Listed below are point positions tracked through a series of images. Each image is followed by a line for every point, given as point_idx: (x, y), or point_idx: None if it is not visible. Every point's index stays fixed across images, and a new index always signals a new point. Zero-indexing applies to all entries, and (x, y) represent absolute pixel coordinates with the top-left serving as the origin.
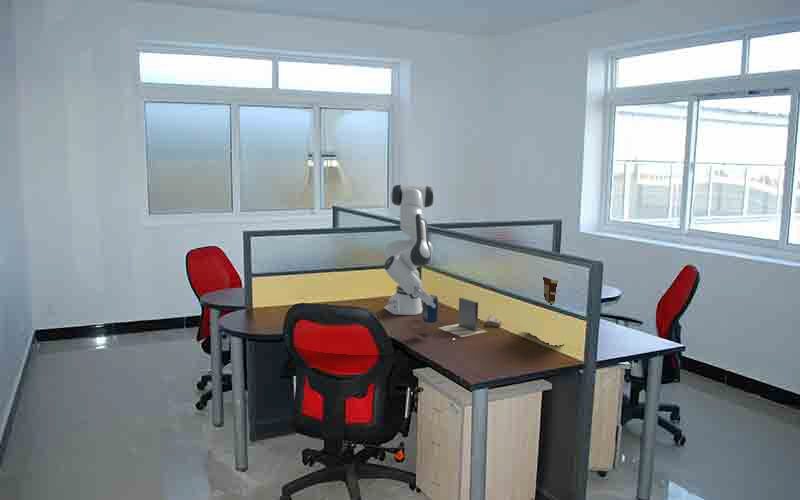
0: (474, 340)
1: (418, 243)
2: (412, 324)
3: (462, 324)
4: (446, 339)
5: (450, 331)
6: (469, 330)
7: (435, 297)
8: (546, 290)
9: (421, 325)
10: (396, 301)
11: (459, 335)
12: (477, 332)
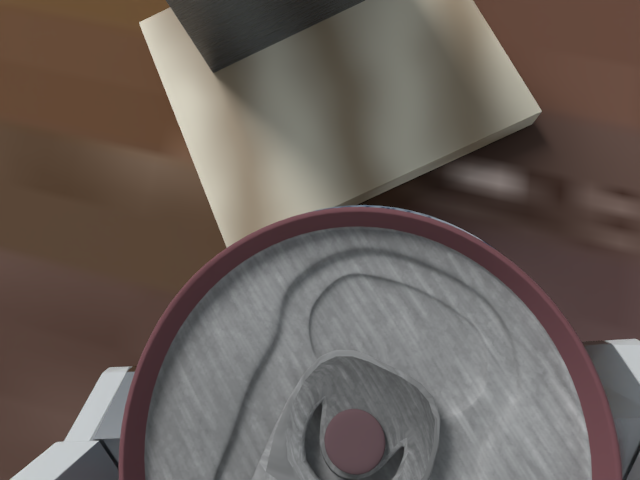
0: (547, 31)
1: None
2: (4, 430)
3: (251, 35)
4: (499, 242)
5: (360, 169)
6: (354, 15)
7: (322, 269)
8: None
9: (53, 357)
10: None
11: (494, 120)
12: None
